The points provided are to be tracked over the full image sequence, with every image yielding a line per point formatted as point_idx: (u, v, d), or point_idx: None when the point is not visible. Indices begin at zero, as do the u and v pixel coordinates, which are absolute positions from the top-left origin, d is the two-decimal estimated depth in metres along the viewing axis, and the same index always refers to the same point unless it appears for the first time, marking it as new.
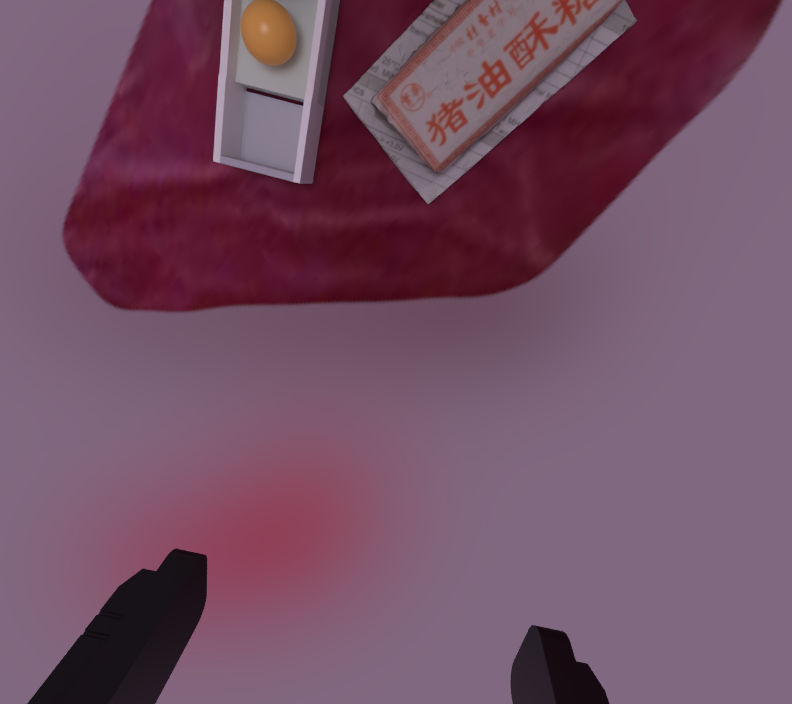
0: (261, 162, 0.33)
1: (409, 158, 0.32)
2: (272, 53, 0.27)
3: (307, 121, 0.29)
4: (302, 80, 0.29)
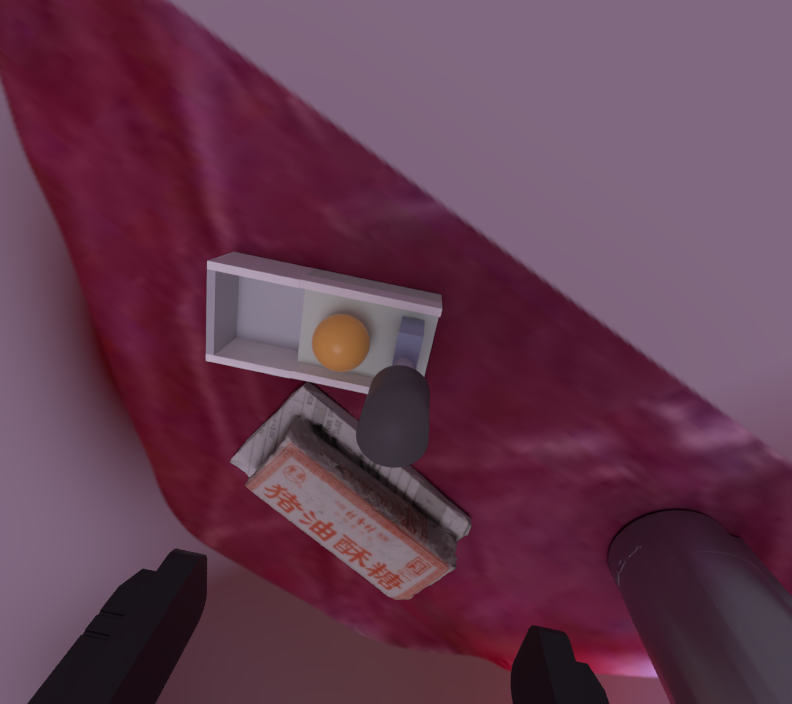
0: (240, 287, 0.28)
1: (264, 444, 0.32)
2: (316, 356, 0.25)
3: (268, 372, 0.27)
4: None
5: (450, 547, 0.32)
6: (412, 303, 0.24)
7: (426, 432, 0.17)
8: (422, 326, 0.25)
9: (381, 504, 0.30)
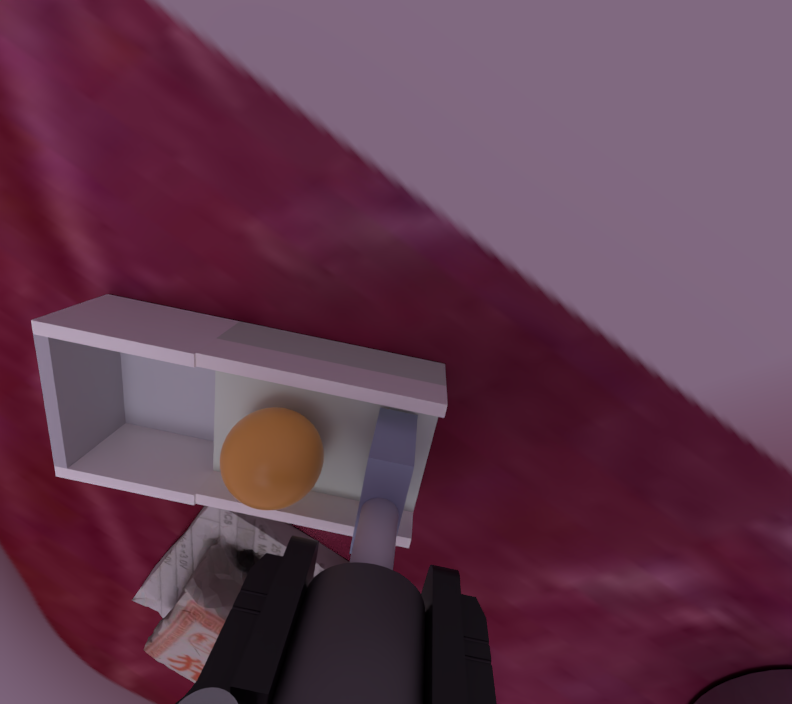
0: None
1: (176, 576, 0.22)
2: (226, 485, 0.14)
3: (158, 496, 0.16)
4: None
5: None
6: (394, 395, 0.14)
7: None
8: (413, 433, 0.14)
9: None
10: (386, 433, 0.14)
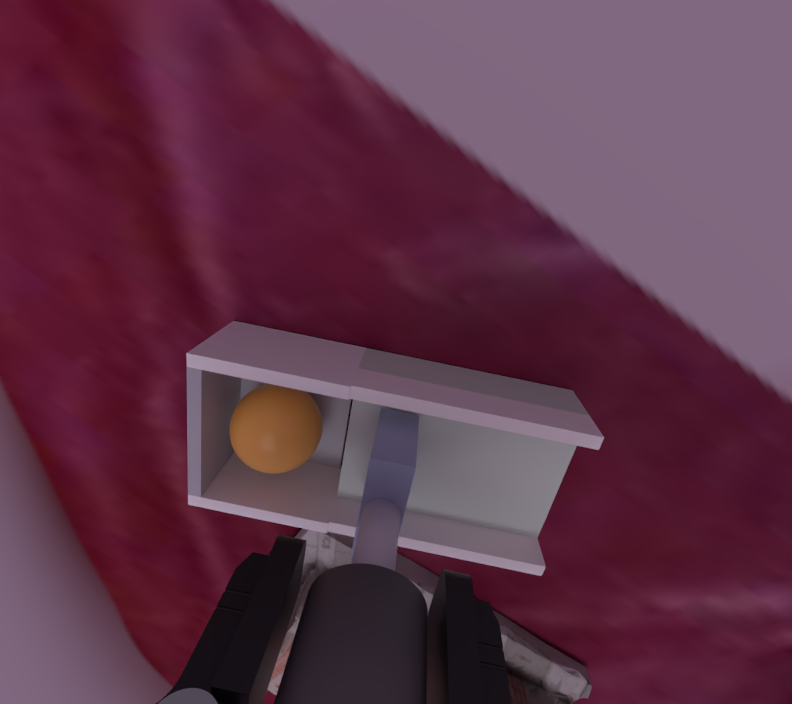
0: None
1: None
2: None
3: (291, 524, 0.16)
4: None
5: None
6: (550, 428, 0.14)
7: None
8: (414, 433, 0.14)
9: None
10: (388, 434, 0.14)
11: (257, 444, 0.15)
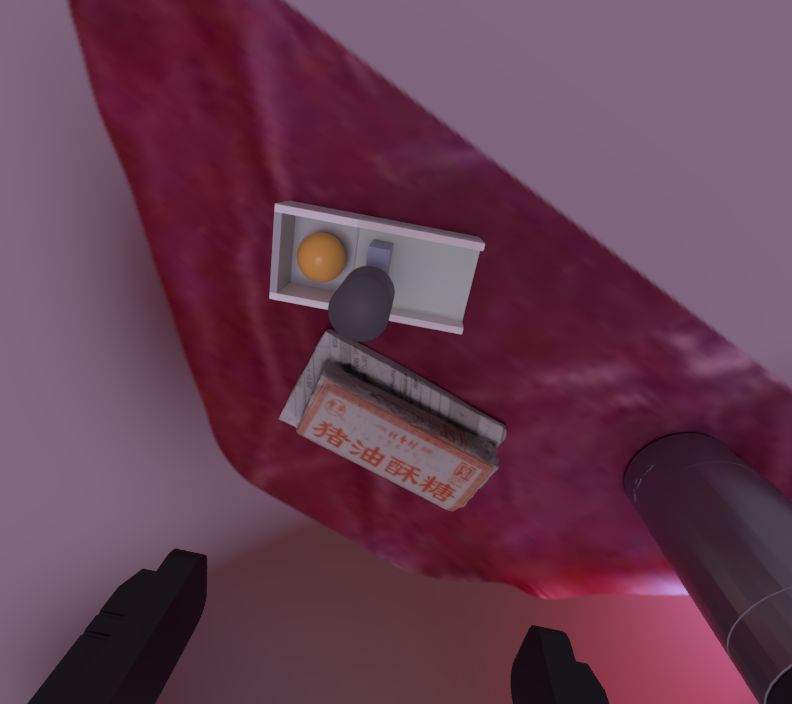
0: (295, 233, 0.31)
1: (305, 395, 0.36)
2: None
3: (326, 308, 0.30)
4: None
5: (491, 451, 0.35)
6: (458, 239, 0.27)
7: (387, 306, 0.20)
8: (390, 245, 0.28)
9: (418, 420, 0.33)
10: (377, 243, 0.27)
11: (318, 257, 0.28)
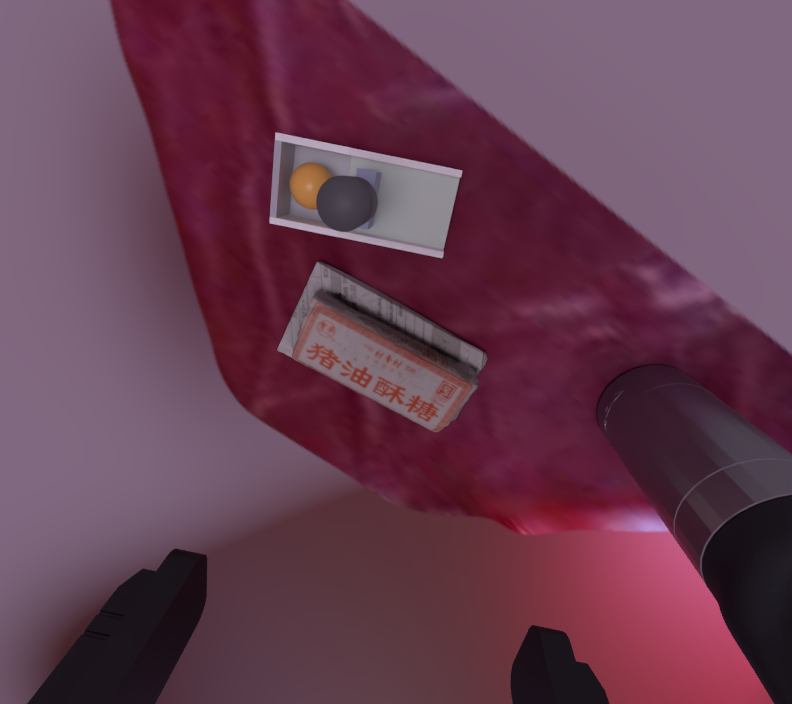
0: (294, 168, 0.35)
1: (300, 325, 0.39)
2: None
3: (320, 232, 0.33)
4: None
5: (471, 374, 0.38)
6: (438, 166, 0.31)
7: (367, 198, 0.23)
8: (378, 172, 0.31)
9: (402, 341, 0.36)
10: None
11: (303, 181, 0.32)
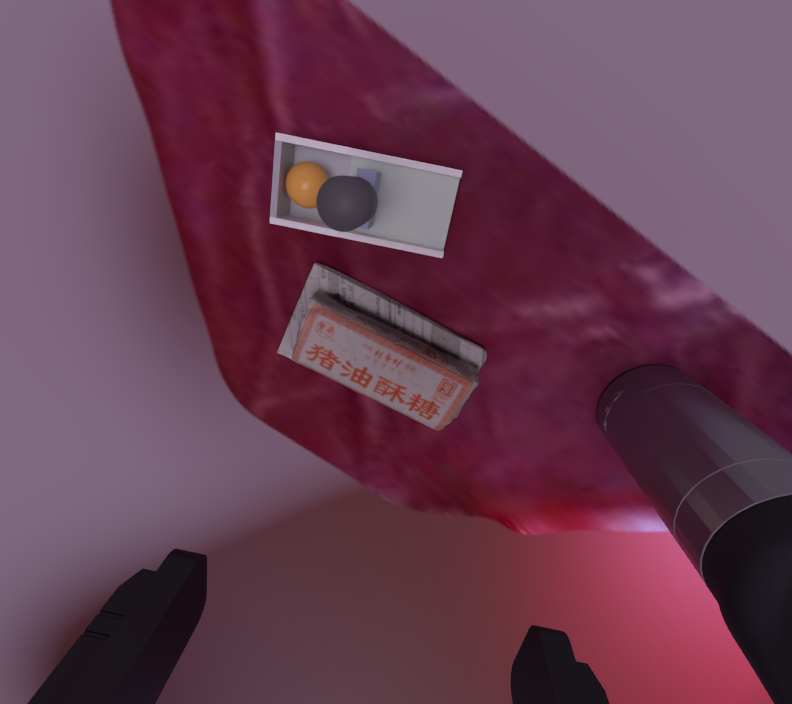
0: None
1: (299, 327, 0.39)
2: None
3: (320, 232, 0.33)
4: None
5: (471, 371, 0.38)
6: (438, 166, 0.31)
7: (367, 198, 0.23)
8: (378, 172, 0.31)
9: (401, 340, 0.36)
10: None
11: (295, 179, 0.32)
